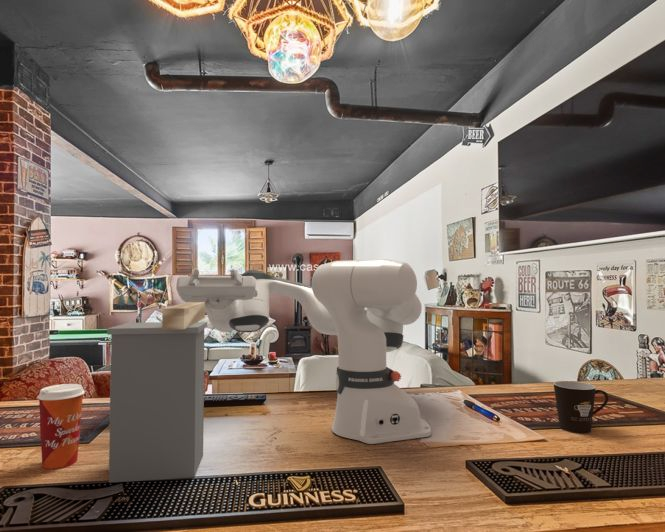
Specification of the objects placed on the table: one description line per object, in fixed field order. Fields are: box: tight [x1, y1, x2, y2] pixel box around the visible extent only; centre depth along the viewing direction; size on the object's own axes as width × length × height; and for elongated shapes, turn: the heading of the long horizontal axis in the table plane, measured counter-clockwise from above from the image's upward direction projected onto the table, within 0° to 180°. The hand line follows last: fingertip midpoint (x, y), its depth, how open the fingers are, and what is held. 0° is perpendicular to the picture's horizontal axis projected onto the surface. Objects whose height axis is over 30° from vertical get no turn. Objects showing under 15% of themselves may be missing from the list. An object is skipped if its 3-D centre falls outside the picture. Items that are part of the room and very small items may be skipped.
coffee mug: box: [553, 380, 609, 434], centre depth 101 cm, size 12×9×10 cm
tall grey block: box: [106, 321, 208, 483], centre depth 81 cm, size 15×11×26 cm
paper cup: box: [36, 383, 86, 470], centre depth 83 cm, size 8×8×14 cm
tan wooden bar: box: [161, 302, 206, 330], centre depth 85 cm, size 4×23×4 cm, turn 8°
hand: (214, 272), depth 110 cm, fingers open, 8 cm apart
